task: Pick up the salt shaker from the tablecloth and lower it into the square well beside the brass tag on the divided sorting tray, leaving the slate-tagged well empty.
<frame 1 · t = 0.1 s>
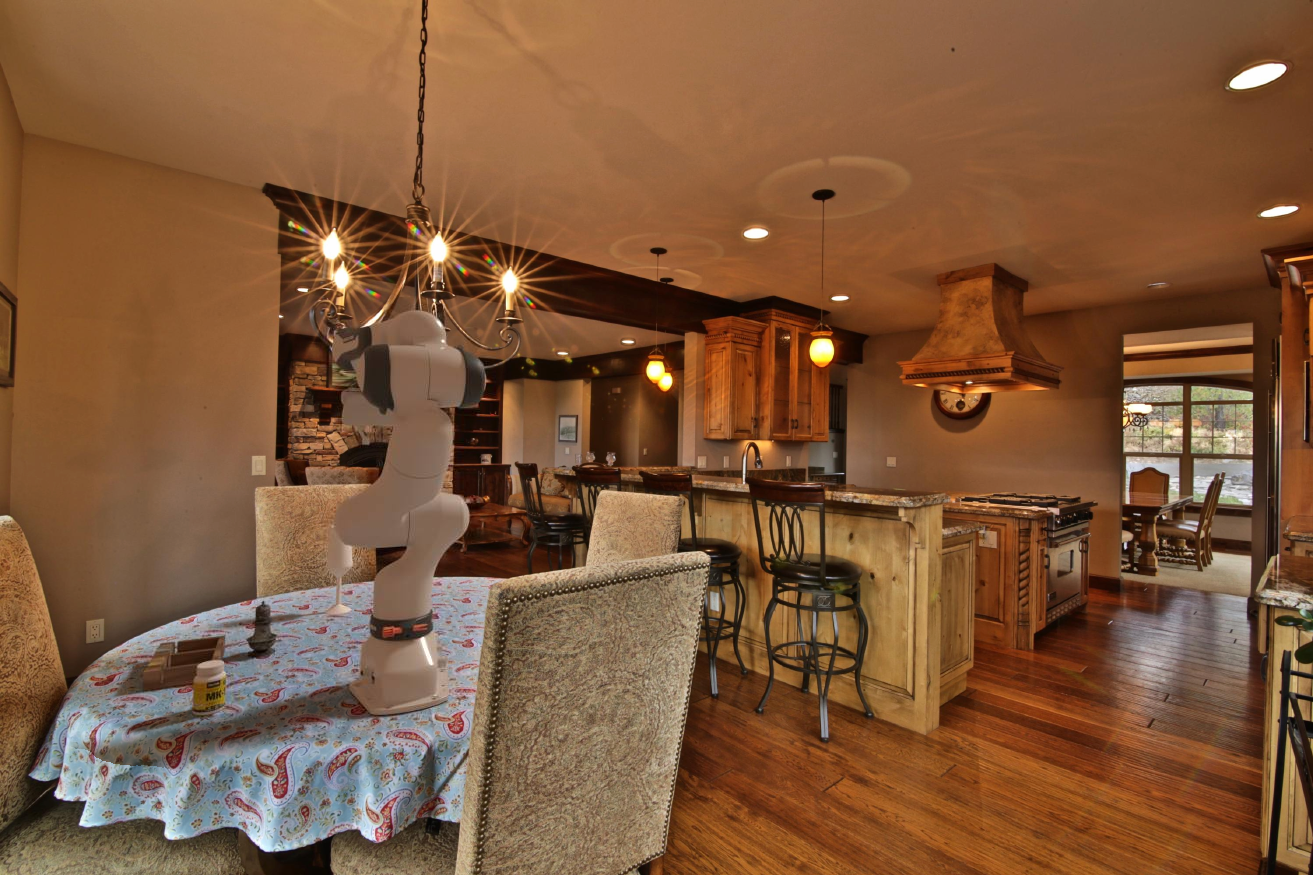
hand: (386, 444, 150), 48 cm above the table, fingers open, 8 cm apart
champagne flute: (338, 611, 169), on the table
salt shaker: (261, 654, 137), on the table
divided sorting tray: (187, 669, 126), on the table
supplement bottle: (209, 711, 109), on the table
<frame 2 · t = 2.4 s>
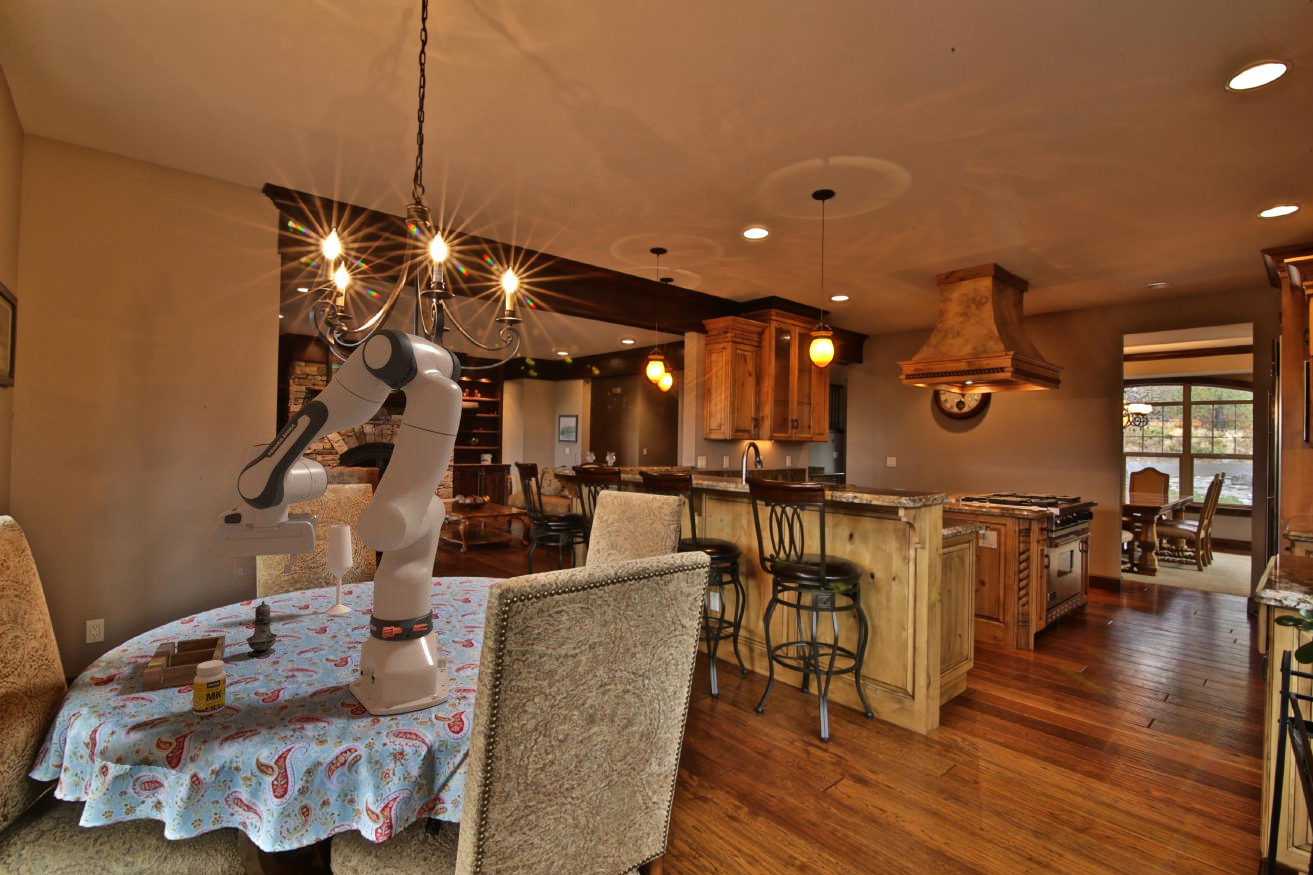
hand: (263, 574, 137), 18 cm above the table, fingers open, 8 cm apart
nothing on the table moved.
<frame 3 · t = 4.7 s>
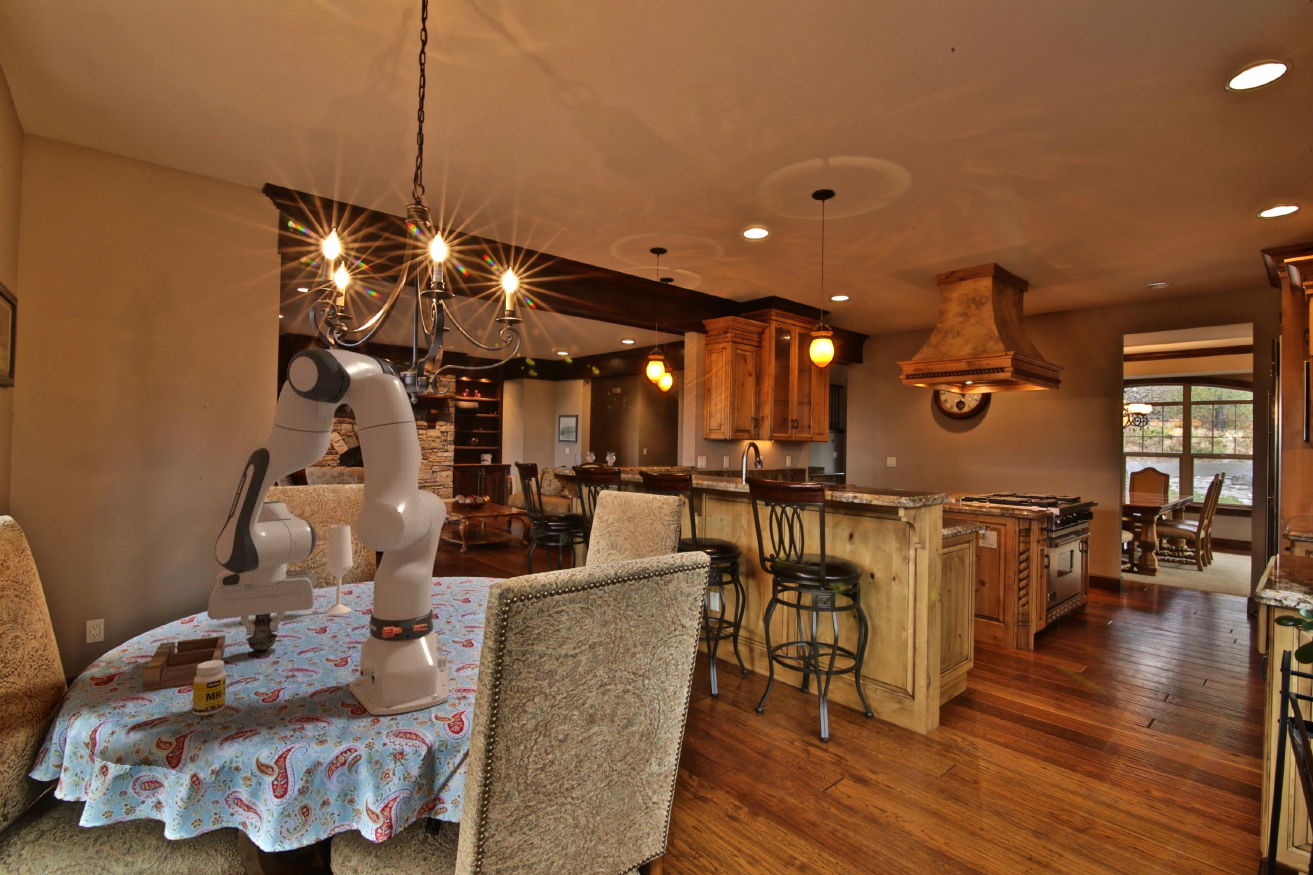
hand: (262, 633, 137), 5 cm above the table, fingers closed on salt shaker, 3 cm apart
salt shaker: (261, 654, 137), on the table, touching gripper
everything else where it was.
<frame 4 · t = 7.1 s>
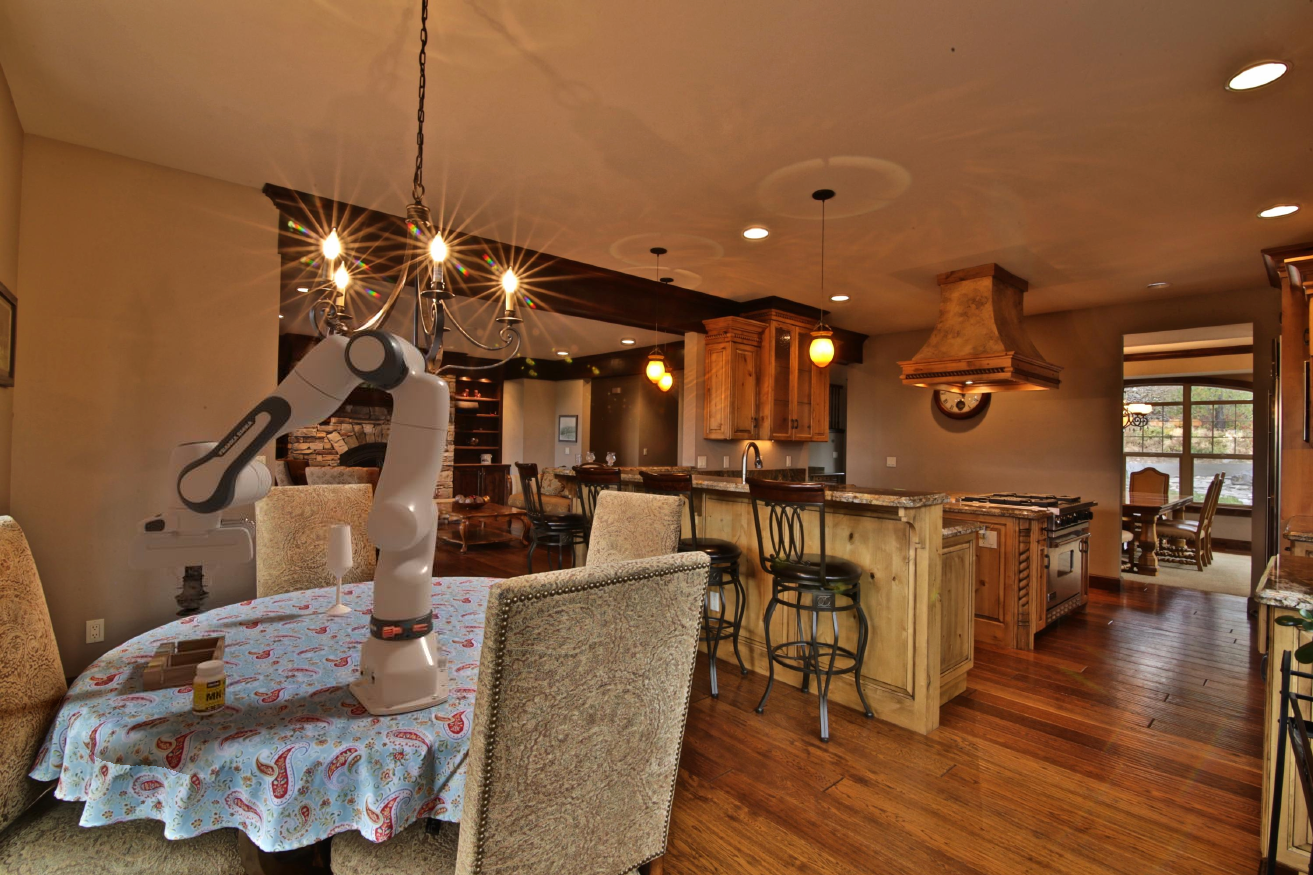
hand: (193, 587, 123), 18 cm above the table, fingers closed on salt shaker, 3 cm apart
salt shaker: (192, 613, 123), point 13 cm above the table, touching gripper
everything else where it was.
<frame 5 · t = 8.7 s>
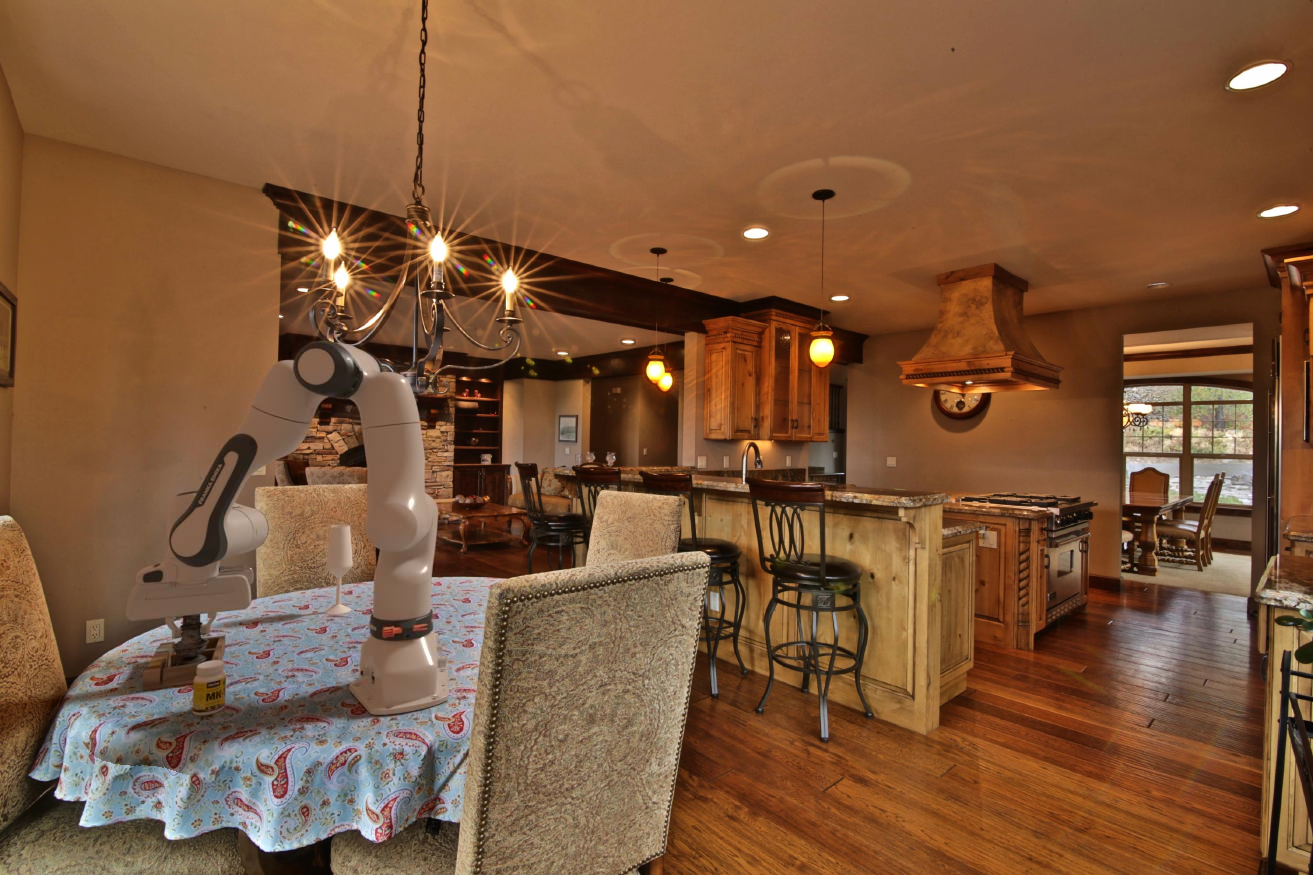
hand: (191, 635, 123), 8 cm above the table, fingers closed on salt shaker, 3 cm apart
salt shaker: (190, 661, 123), point 3 cm above the table, touching gripper
everything else where it was.
when the fingers open (7 cm above the table, at t = 9.7 s): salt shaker drops 1 cm, resting on divided sorting tray.
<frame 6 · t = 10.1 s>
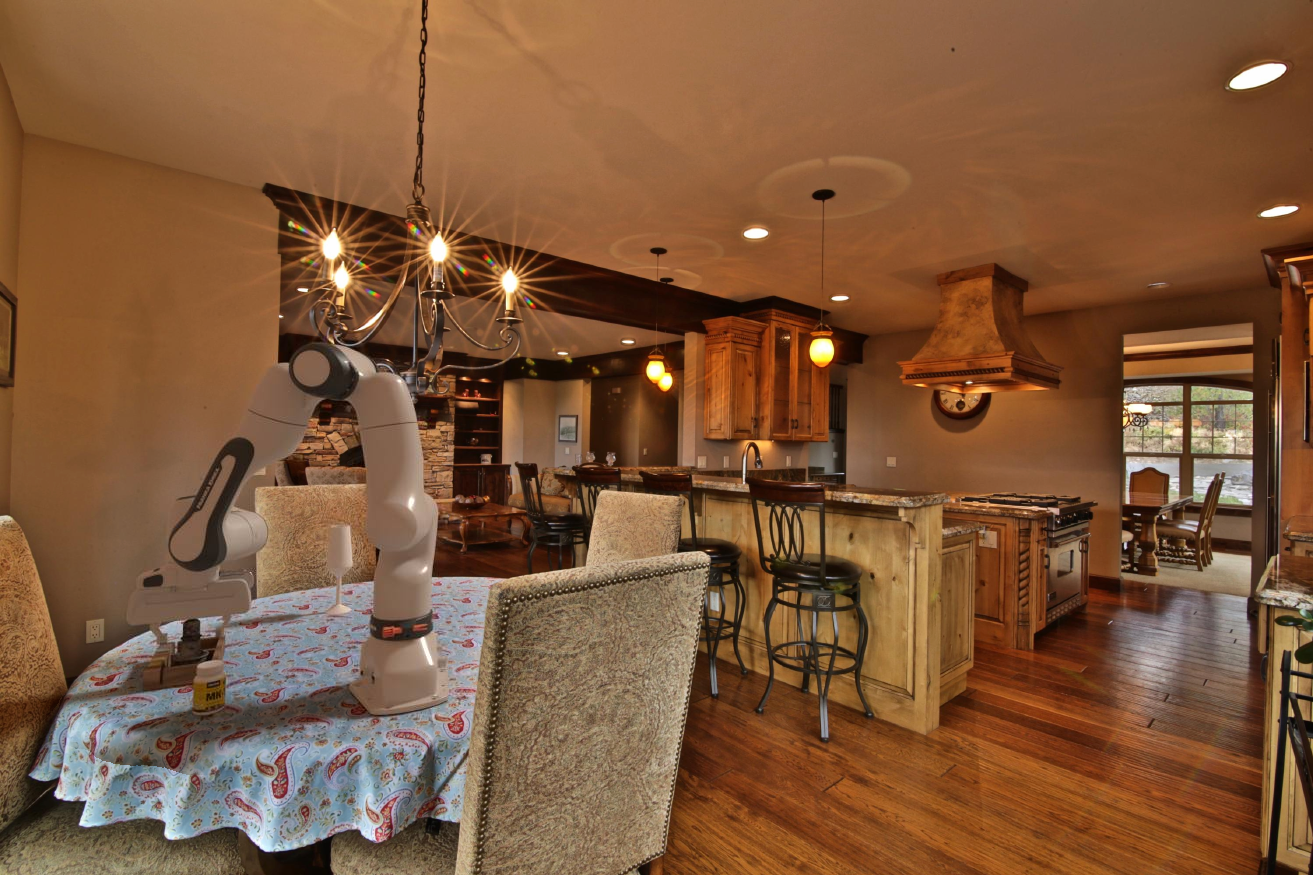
hand: (191, 639, 123), 7 cm above the table, fingers open, 8 cm apart
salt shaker: (190, 673, 123), resting on divided sorting tray
everything else where it was.
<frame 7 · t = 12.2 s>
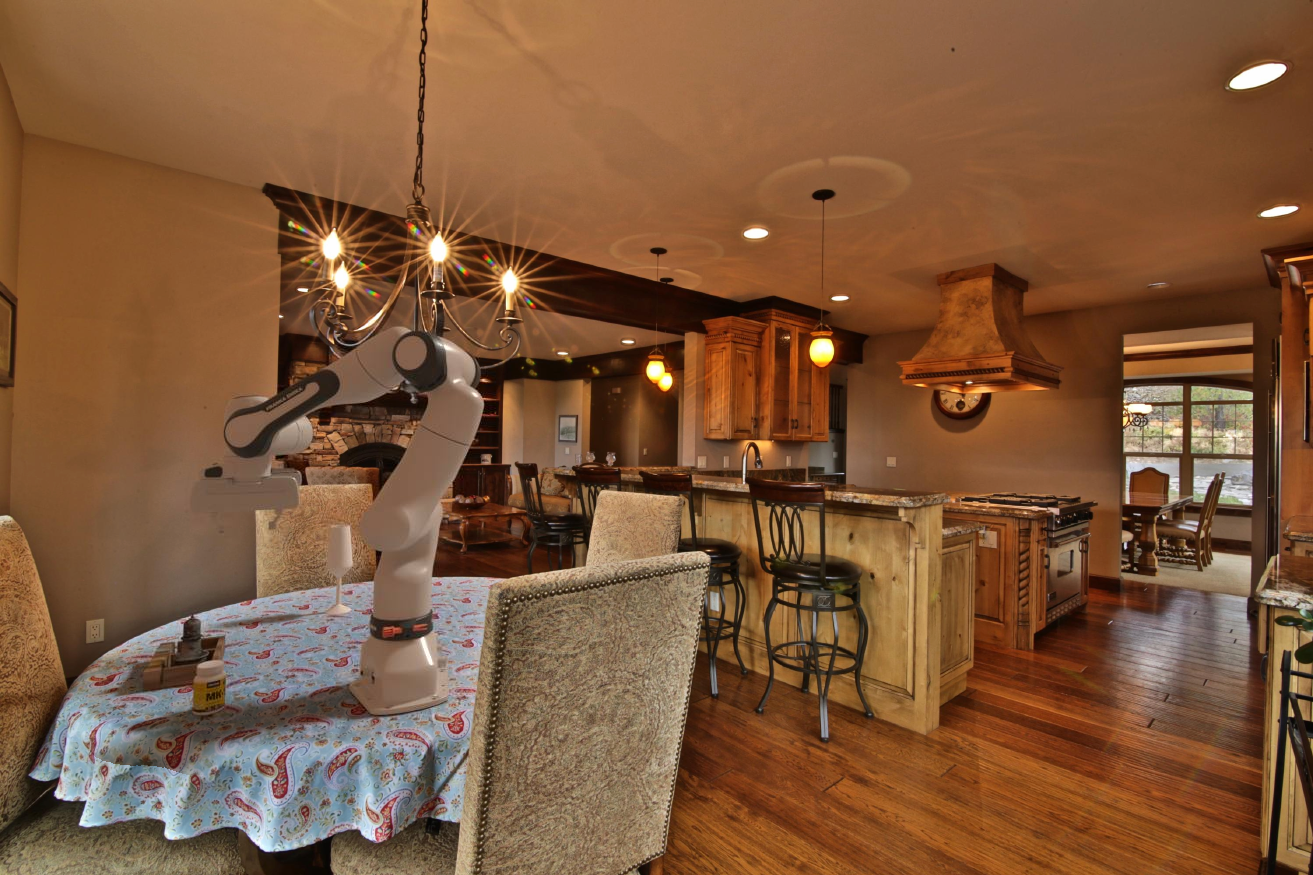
hand: (247, 531, 133), 28 cm above the table, fingers open, 8 cm apart
nothing on the table moved.
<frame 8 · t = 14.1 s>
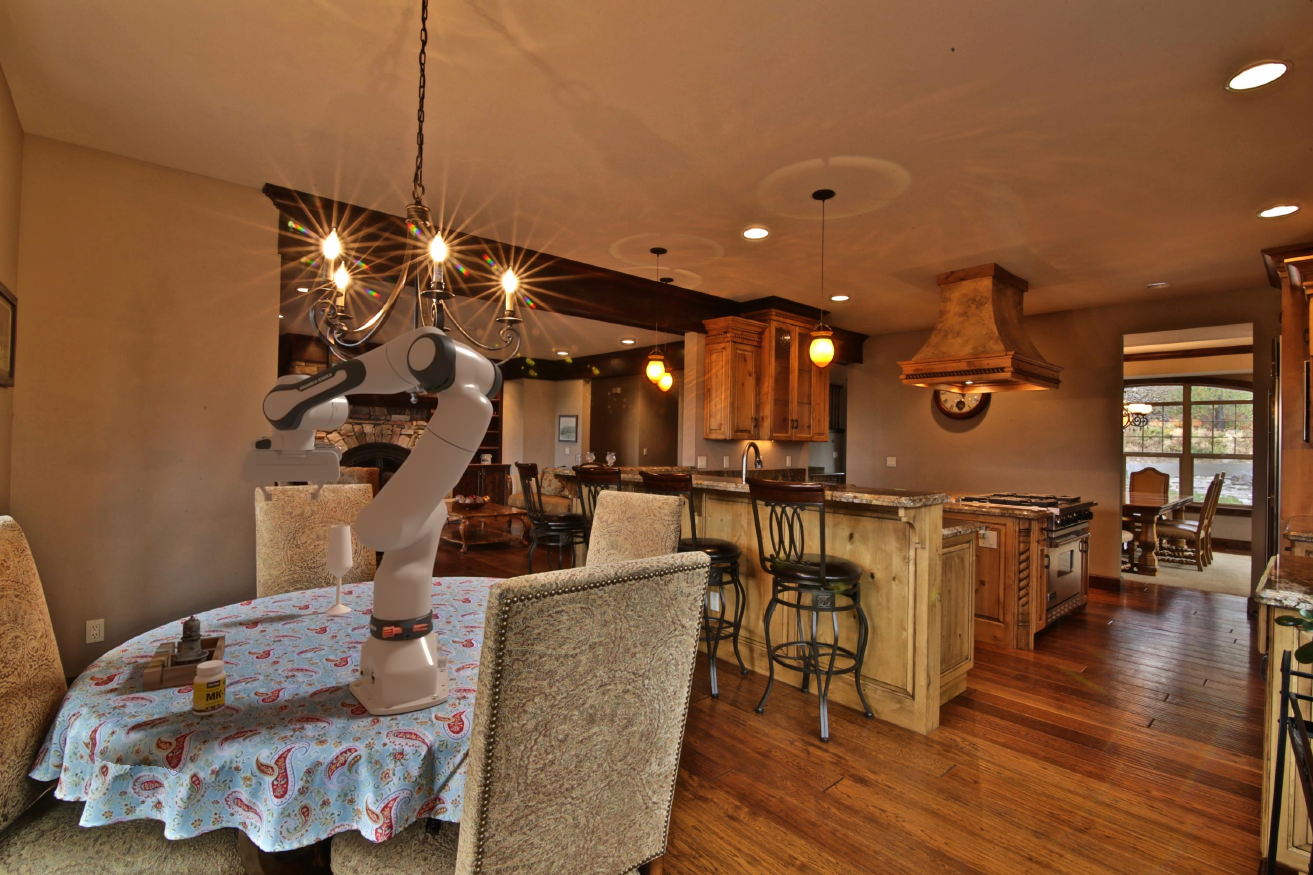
hand: (291, 500, 143), 34 cm above the table, fingers open, 8 cm apart
nothing on the table moved.
at the end: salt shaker 0.0 cm from the target spot on the divided sorting tray, point 0.4 cm above the divided sorting tray's base; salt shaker tilted 0°; the gripper is holding nothing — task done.
